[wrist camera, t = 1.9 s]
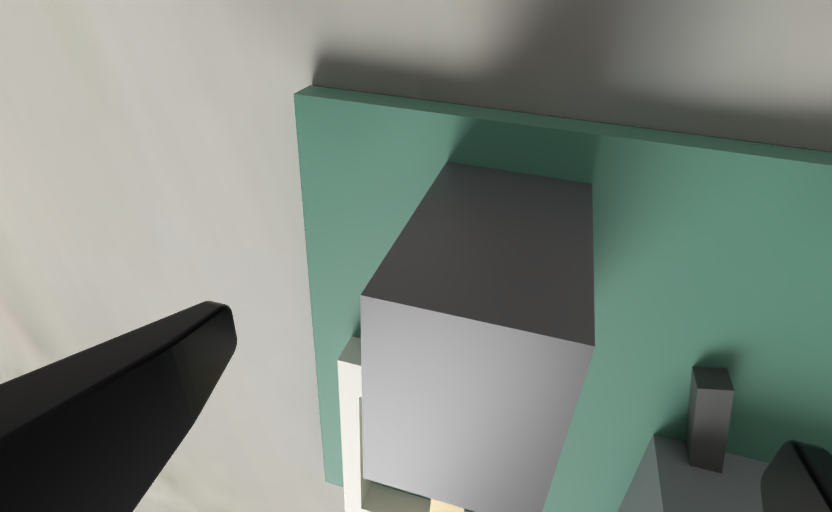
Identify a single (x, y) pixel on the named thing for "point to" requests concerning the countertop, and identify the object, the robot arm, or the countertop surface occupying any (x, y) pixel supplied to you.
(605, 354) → the board
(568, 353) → the plug
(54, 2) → the countertop surface
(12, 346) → the countertop surface
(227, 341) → the robot arm
